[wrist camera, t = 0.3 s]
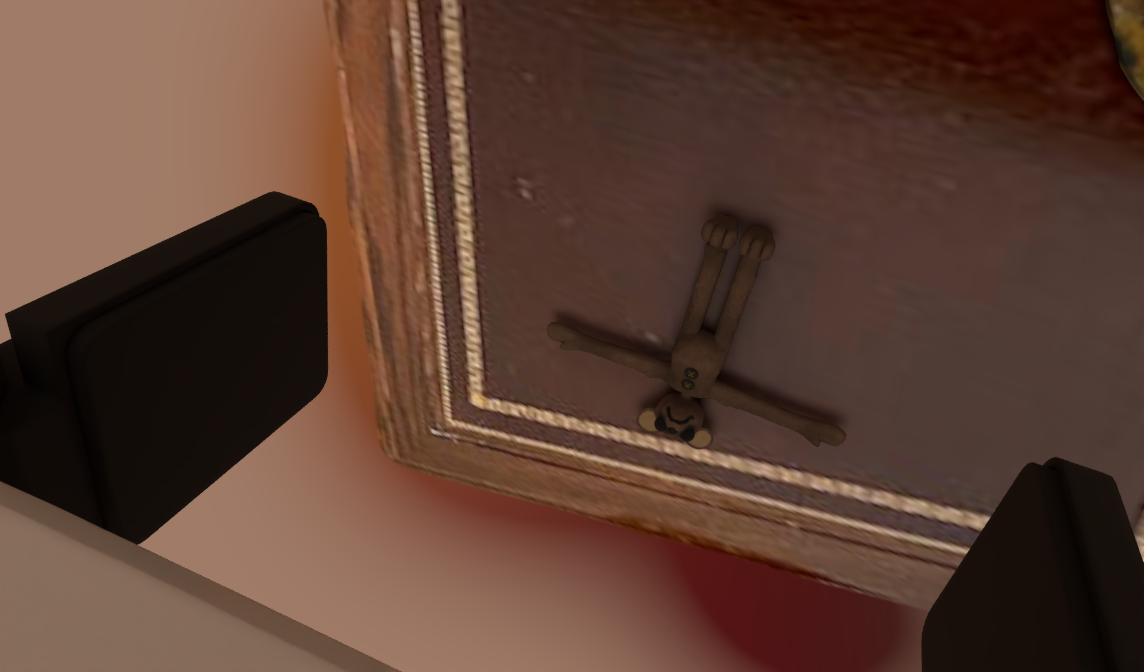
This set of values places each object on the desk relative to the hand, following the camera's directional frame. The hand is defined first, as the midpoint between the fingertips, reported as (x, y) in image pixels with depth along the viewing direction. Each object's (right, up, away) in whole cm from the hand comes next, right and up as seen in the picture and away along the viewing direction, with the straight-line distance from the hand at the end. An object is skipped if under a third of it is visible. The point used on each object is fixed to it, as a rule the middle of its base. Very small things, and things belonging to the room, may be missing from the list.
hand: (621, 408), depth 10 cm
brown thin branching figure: (+7, +1, +34) cm, 35 cm away
